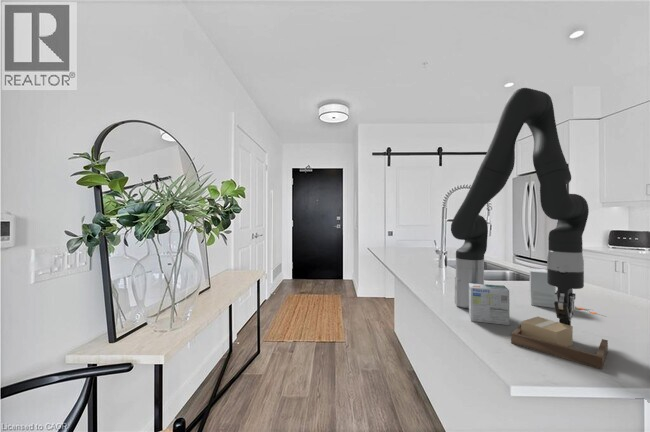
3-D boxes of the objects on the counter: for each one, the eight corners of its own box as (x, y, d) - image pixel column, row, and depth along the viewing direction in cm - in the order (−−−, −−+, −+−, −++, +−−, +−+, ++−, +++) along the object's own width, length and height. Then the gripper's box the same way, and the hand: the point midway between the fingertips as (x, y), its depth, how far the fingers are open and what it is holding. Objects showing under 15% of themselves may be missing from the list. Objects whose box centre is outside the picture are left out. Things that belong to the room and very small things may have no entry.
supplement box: (553, 303, 109) (553, 269, 109) (555, 308, 102) (556, 273, 102) (529, 300, 113) (529, 267, 113) (530, 305, 106) (530, 270, 106)
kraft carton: (537, 334, 81) (537, 316, 81) (572, 345, 74) (572, 325, 74) (521, 340, 77) (521, 321, 77) (556, 352, 70) (556, 331, 70)
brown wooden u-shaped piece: (525, 329, 83) (525, 321, 83) (607, 350, 71) (607, 340, 71) (511, 343, 75) (511, 333, 75) (601, 369, 62) (601, 357, 62)
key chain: (556, 310, 102) (556, 307, 102) (557, 305, 108) (557, 302, 108) (607, 318, 94) (607, 315, 94) (604, 312, 100) (604, 310, 100)
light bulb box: (504, 318, 93) (504, 284, 93) (510, 326, 86) (510, 290, 86) (467, 314, 96) (467, 282, 96) (470, 321, 90) (470, 287, 90)
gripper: (552, 263, 85) (552, 323, 85) (541, 269, 76) (541, 335, 76) (587, 267, 79) (587, 330, 79) (579, 273, 70) (579, 345, 70)
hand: (565, 333), depth 77 cm, fingers closed
